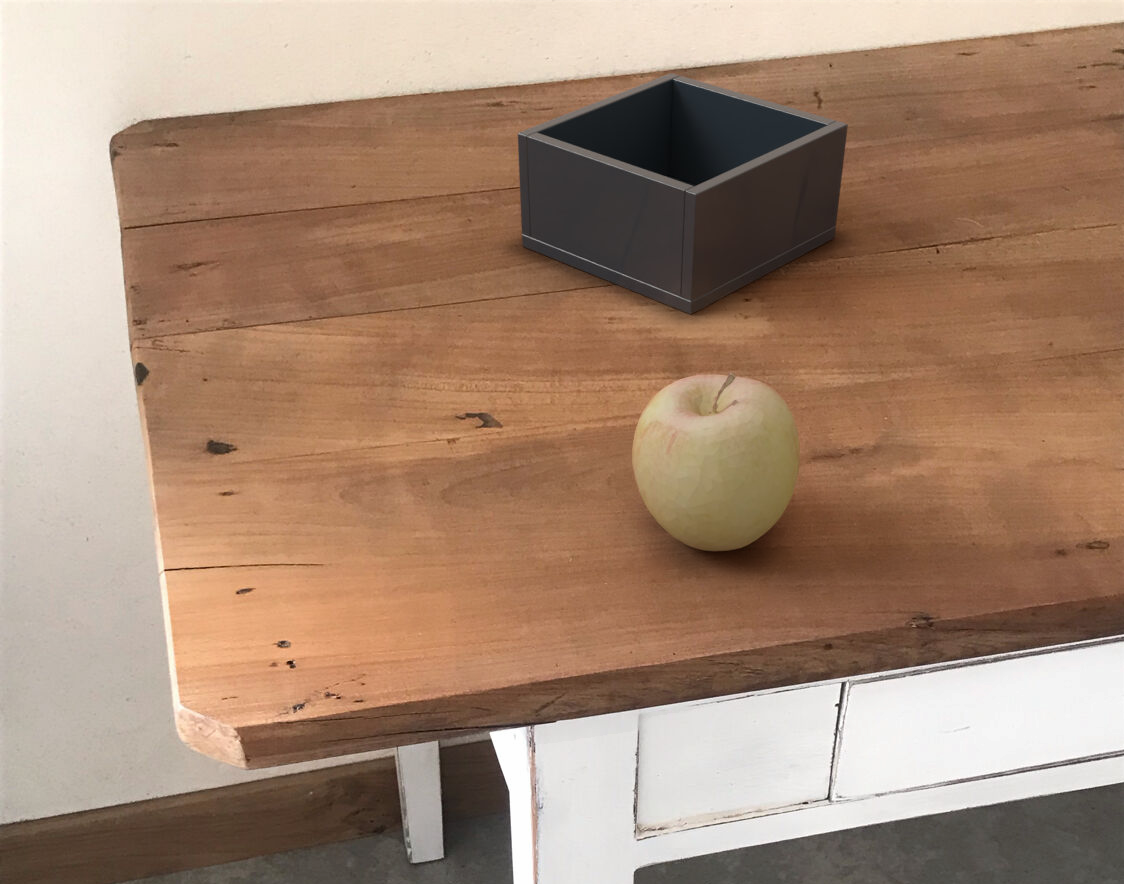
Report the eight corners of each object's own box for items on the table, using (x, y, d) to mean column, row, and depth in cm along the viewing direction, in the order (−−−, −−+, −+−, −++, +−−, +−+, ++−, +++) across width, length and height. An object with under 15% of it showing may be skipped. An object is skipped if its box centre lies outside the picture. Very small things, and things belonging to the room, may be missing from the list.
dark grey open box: (835, 238, 85) (848, 123, 80) (690, 314, 78) (696, 194, 73) (667, 181, 92) (671, 72, 87) (521, 246, 85) (517, 132, 80)
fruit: (829, 533, 62) (851, 371, 57) (709, 597, 59) (720, 432, 53) (713, 463, 67) (723, 307, 61) (596, 520, 63) (595, 360, 58)
